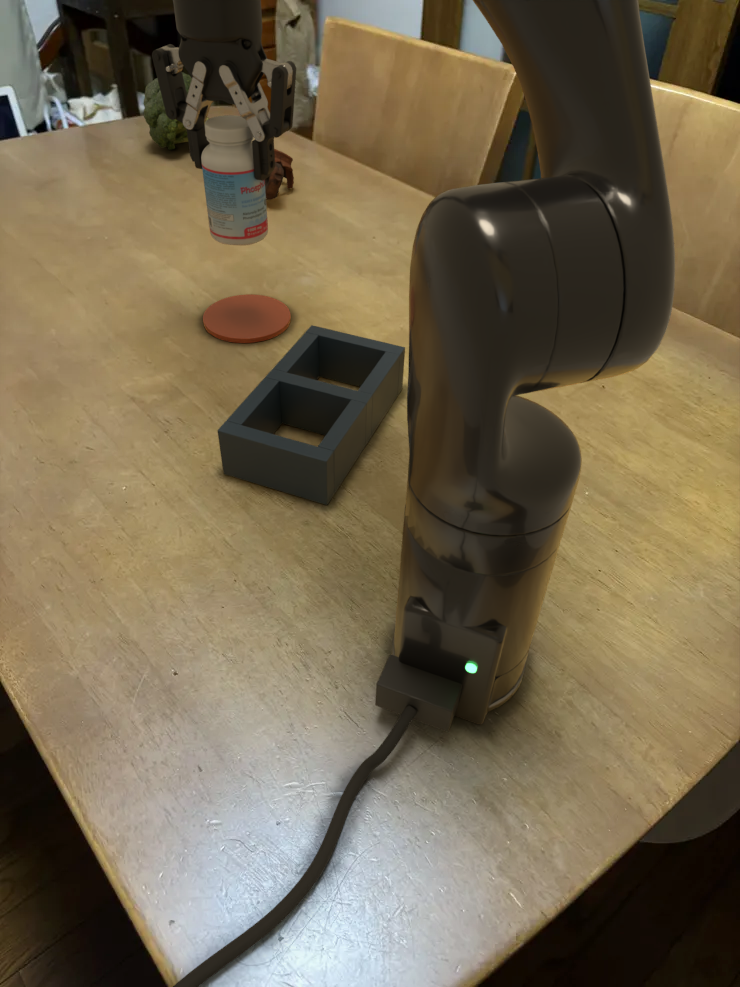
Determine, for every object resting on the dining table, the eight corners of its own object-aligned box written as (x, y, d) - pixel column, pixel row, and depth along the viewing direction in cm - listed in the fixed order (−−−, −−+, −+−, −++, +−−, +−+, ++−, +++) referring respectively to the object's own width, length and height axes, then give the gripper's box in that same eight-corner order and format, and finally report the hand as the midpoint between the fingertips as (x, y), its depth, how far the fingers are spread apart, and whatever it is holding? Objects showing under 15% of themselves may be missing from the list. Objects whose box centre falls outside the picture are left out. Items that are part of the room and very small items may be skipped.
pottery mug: (216, 194, 114) (229, 137, 112) (271, 213, 120) (284, 159, 118) (248, 200, 105) (262, 139, 103) (305, 220, 111) (320, 162, 108)
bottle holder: (327, 505, 65) (326, 461, 61) (223, 474, 67) (216, 430, 64) (402, 388, 77) (405, 347, 74) (312, 366, 80) (311, 324, 77)
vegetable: (214, 155, 119) (124, 104, 115) (210, 189, 131) (129, 143, 128) (247, 92, 120) (159, 39, 117) (240, 131, 133) (161, 84, 129)
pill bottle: (258, 250, 77) (249, 135, 69) (202, 244, 78) (186, 129, 70) (275, 226, 81) (268, 115, 74) (222, 220, 82) (209, 110, 75)
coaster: (265, 351, 82) (265, 346, 82) (186, 331, 84) (185, 326, 84) (305, 309, 89) (305, 304, 88) (230, 292, 91) (230, 287, 91)
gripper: (116, -32, 63) (150, 173, 74) (269, -15, 59) (281, 197, 71) (166, -44, 68) (191, 149, 80) (310, -29, 64) (314, 171, 76)
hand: (233, 171), depth 75 cm, fingers closed on pill bottle, 6 cm apart
